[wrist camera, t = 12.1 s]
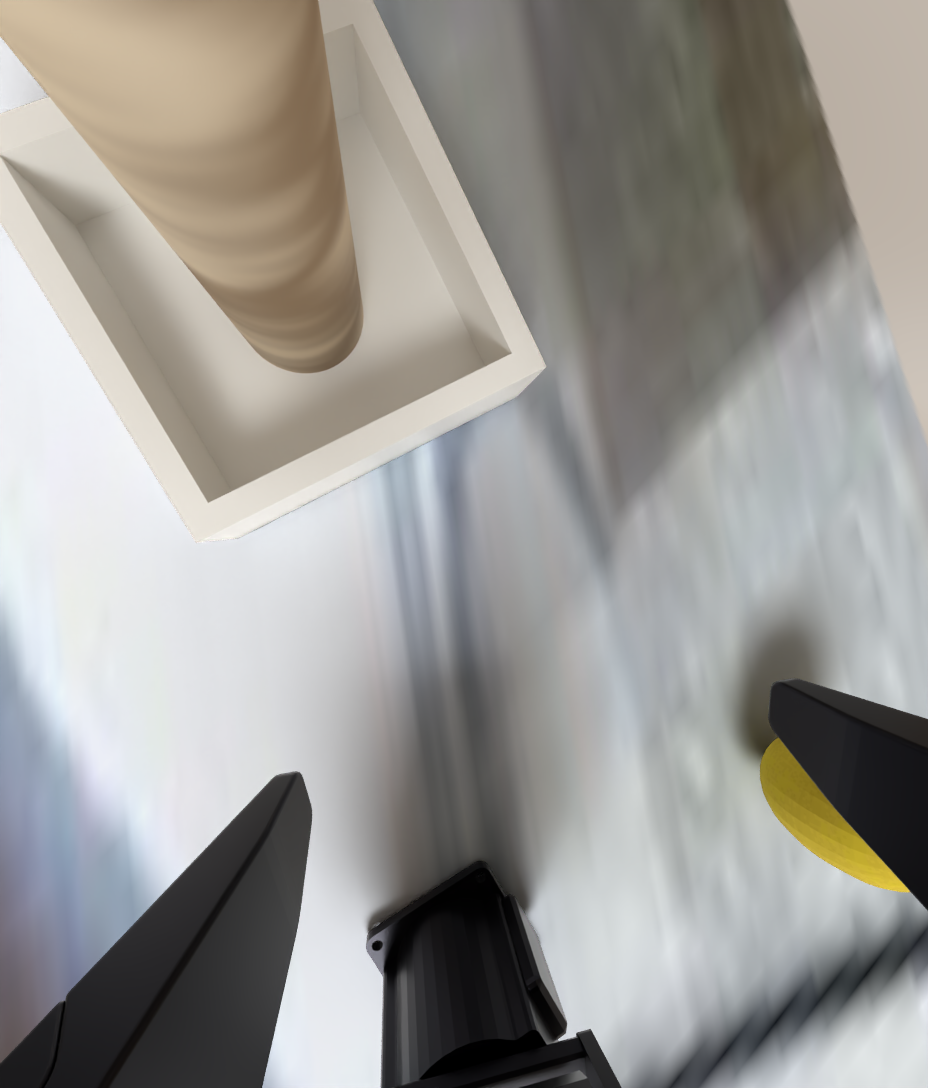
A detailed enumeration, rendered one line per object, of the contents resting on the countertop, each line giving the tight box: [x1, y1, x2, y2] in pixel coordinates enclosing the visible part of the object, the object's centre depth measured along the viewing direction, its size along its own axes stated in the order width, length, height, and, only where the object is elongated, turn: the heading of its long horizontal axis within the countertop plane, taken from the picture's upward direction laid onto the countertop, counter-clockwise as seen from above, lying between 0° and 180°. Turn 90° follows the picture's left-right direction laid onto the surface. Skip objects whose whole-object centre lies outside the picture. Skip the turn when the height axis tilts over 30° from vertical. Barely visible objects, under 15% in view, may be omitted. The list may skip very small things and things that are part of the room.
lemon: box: [760, 738, 910, 892], centre depth 19 cm, size 6×6×8 cm
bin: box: [0, 0, 546, 543], centre depth 17 cm, size 14×14×4 cm
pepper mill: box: [0, 0, 364, 373], centre depth 11 cm, size 5×5×14 cm
